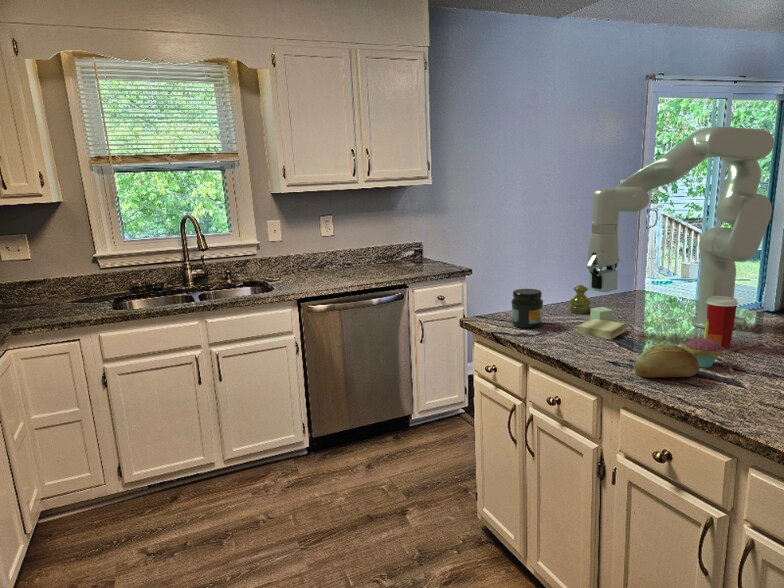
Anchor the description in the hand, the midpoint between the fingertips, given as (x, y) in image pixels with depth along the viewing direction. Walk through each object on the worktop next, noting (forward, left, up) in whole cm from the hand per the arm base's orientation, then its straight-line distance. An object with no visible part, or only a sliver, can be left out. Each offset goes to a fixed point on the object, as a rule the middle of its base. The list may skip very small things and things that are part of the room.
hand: (602, 286), depth 162 cm
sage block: (+6, -9, -15) cm, 19 cm away
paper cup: (-30, -11, -15) cm, 35 cm away
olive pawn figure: (+20, -17, -15) cm, 30 cm away
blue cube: (0, 0, -1) cm, 1 cm away
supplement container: (+22, +10, -15) cm, 29 cm away
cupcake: (-34, +7, -15) cm, 38 cm away
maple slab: (0, 0, -16) cm, 16 cm away
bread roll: (-32, +21, -16) cm, 41 cm away
